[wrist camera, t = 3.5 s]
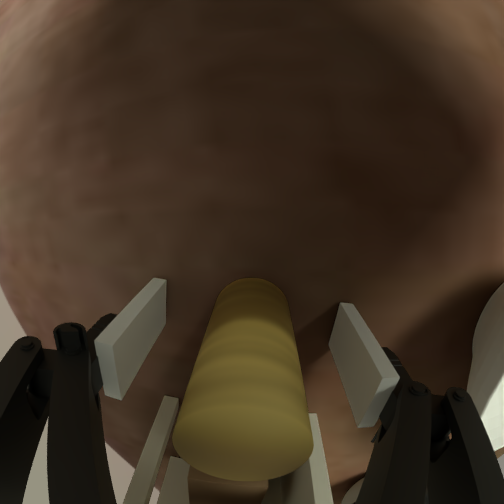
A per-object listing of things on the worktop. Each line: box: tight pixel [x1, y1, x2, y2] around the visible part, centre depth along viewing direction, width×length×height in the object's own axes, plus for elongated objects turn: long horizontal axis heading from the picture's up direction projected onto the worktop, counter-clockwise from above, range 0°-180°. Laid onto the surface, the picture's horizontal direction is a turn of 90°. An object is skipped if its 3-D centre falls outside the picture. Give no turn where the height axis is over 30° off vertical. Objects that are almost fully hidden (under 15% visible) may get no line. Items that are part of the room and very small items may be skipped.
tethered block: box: [172, 278, 314, 504], centre depth 13 cm, size 17×5×9 cm, turn 172°
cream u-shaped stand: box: [123, 395, 333, 504], centre depth 14 cm, size 9×10×10 cm
